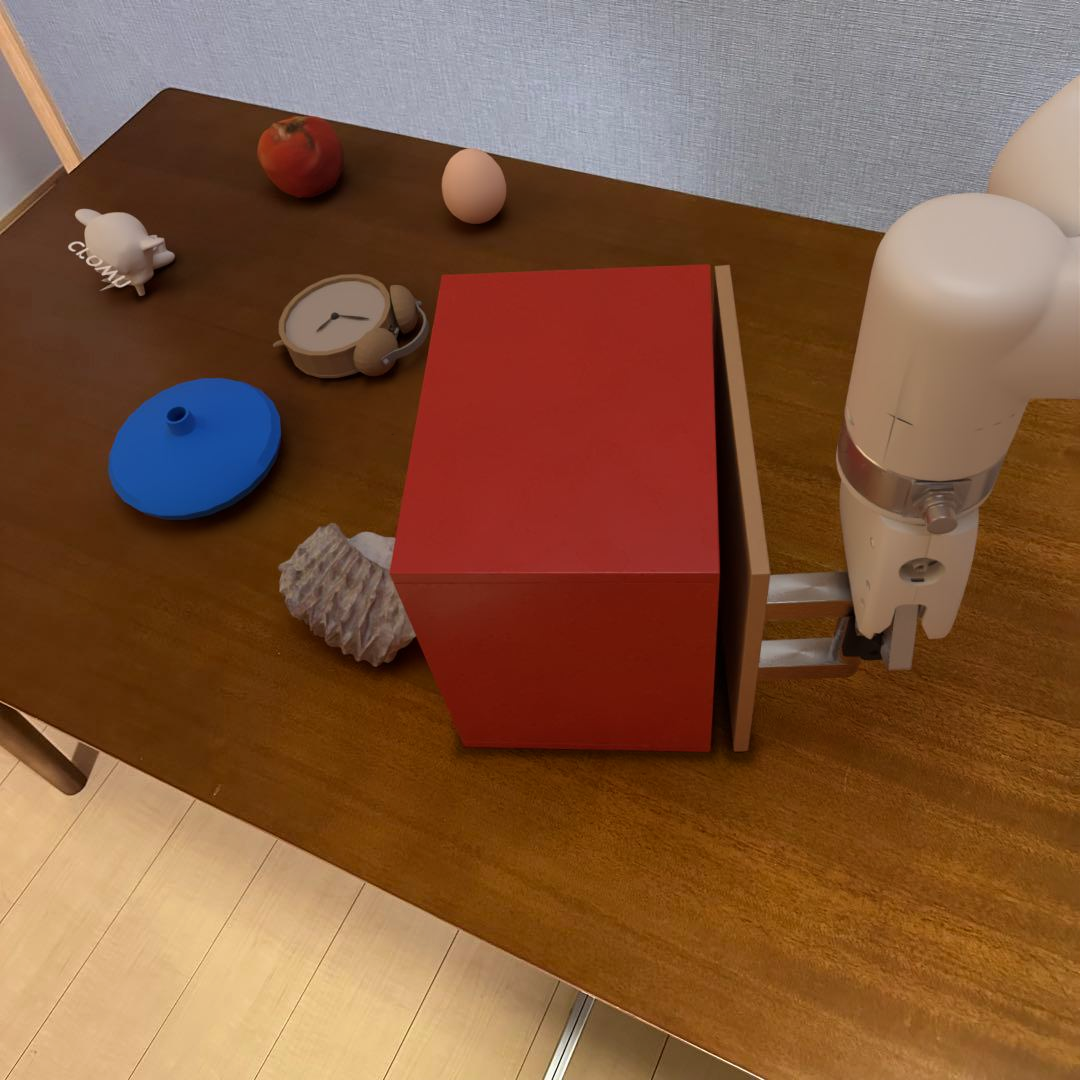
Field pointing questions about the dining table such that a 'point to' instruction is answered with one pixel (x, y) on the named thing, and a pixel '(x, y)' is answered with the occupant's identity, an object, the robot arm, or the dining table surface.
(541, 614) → the box
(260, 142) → the tomato
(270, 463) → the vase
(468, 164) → the egg
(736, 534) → the door
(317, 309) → the alarm clock
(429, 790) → the dining table surface
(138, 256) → the figurine
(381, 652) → the seashell
